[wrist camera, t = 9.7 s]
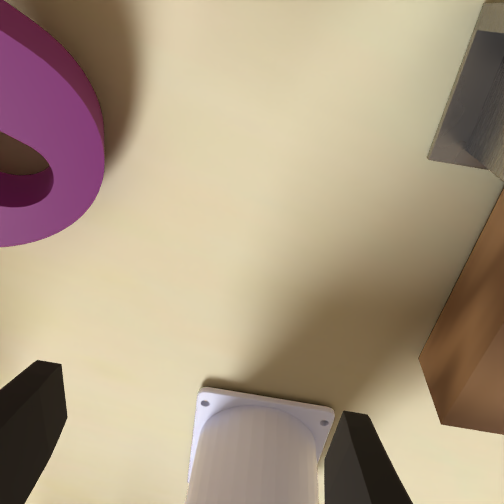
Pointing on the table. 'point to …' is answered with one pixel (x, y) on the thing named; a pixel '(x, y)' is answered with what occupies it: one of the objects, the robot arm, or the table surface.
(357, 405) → the table surface
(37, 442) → the robot arm
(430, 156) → the bracket
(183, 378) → the table surface
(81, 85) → the mounting bracket
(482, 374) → the rail
